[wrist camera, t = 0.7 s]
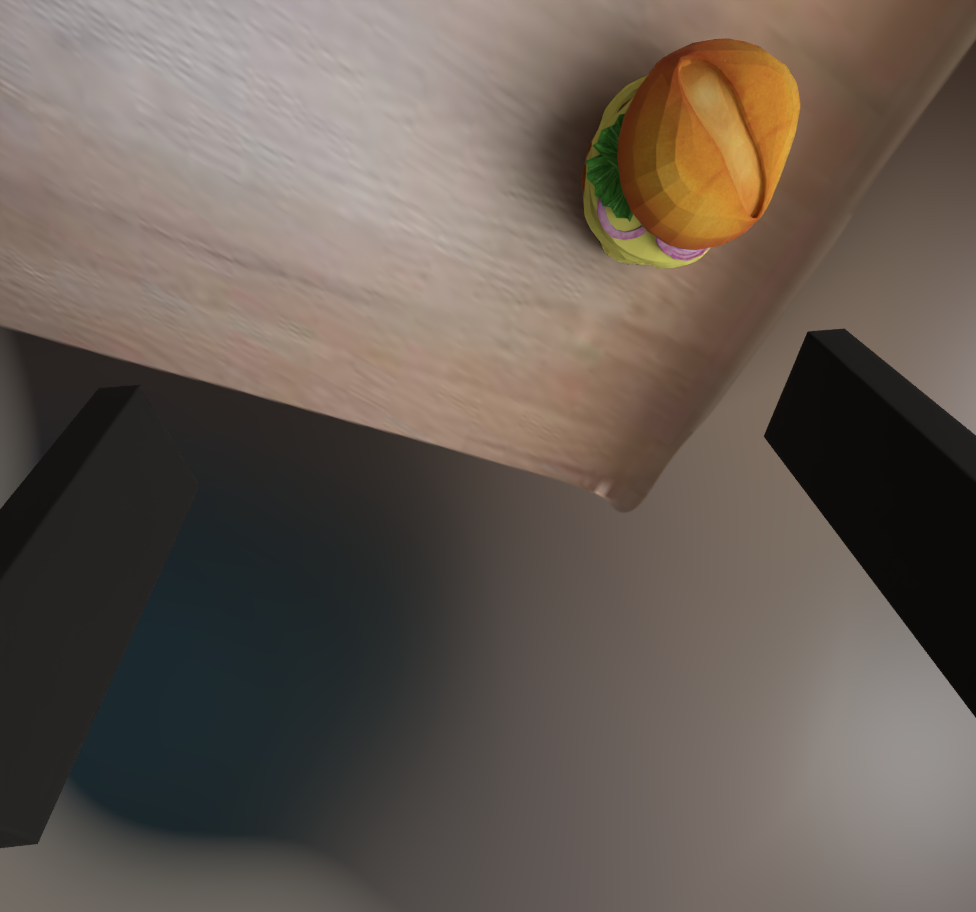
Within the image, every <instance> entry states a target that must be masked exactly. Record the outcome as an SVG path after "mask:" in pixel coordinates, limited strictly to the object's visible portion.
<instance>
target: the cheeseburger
mask: <svg viewBox="0 0 976 912" xmlns="http://www.w3.org/2000/svg"><path fill="white" fill-rule="evenodd" d="M799 112H800V100H799V94H798V87H797V83H796V81H795V80H794V78H793V76H792V75H791V73H790V71H789V70H788V68H787V66H786V65H785V64H783V63H781V62H780V61H778V60H777V59H775V58H774V57H772V56H771V55H770V54H769V53H767V52H766V51H765V50H763V49H762V48H761V47H759V46H757V45H753V44H750V43H747V42H744V41H739V40H733V39H714V40H708V41H702V42H697V43H692V44H690V45H688V46H685V47H683V48H681V49H679V50H677V51H675V52H673V53H671V54H669V55H667V56H666V57H664V58H663V59H661V60H660V61H659V62H658V63H657V64H656V65H655V66H654V68H653V69H652V70H651V72H650V73H649V74H648V75H646V76H644V77H642V78H639V79H637V80H635V81H634V82H632V83H630V84H628V85H626V86H625V87H624V88H623V89H622V90H621V91H620V92H619V93H618V94H617V95H616V96H615V97H614V99H613V100H612V101H611V102H610V103H609V105H608V106H607V107H606V109H605V110H604V113H603V117H602V120H601V123H600V126H599V129H598V130H597V132H596V133H595V135H594V137H593V138H592V140H591V141H590V144H589V148H588V153H587V157H586V161H585V165H584V170H583V174H582V178H581V179H582V189H583V199H584V216H585V218H586V220H587V223H588V225H589V227H590V229H591V230H592V232H593V233H594V234H595V236H596V237H597V238H598V239H599V241H600V242H601V245H602V247H603V250H604V251H605V253H606V254H607V255H609V256H610V257H612V258H613V259H615V260H617V261H619V262H622V263H625V264H636V265H645V264H650V265H652V266H655V267H657V268H674V267H678V266H685V265H687V264H690V263H692V262H694V261H697V260H699V259H700V258H701V257H702V256H703V255H704V254H705V253H706V252H707V251H708V250H709V249H710V248H711V247H715V246H720V245H722V244H724V243H727V242H729V241H731V240H734V239H736V238H738V237H739V236H741V235H742V234H743V233H745V232H746V231H747V230H748V229H749V228H750V227H751V226H752V225H753V224H754V223H755V222H757V221H758V220H759V219H760V218H761V216H762V215H763V214H764V212H765V210H766V208H767V207H768V205H769V203H770V201H771V199H772V196H773V194H774V191H775V189H776V186H777V184H778V182H779V179H780V176H781V173H782V171H783V168H784V165H785V162H786V160H787V157H788V154H789V151H790V148H791V145H792V142H793V139H794V136H795V132H796V127H797V122H798V117H799Z"/></svg>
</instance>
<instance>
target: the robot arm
mask: <svg viewBox="0 0 976 912" xmlns="http://www.w3.org/2000/svg"><path fill="white" fill-rule="evenodd" d="M764 437H765V439H766V440H767V441H768V443H769V444H770V445H771V447H772V448H773V449H774V451H775V452H776V453H777V455H778V456H779V457H780V459H781V460H782V461H783V463H784V464H785V465H786V467H787V468H788V469H789V471H790V472H791V473H792V474H793V476H794V477H795V479H796V480H797V481H798V482H799V484H800V485H801V487H802V488H803V489H804V490H805V492H806V493H807V494H808V496H809V497H810V498H811V500H812V501H813V502H814V504H815V505H816V506H817V508H818V509H819V510H820V512H821V513H822V514H823V516H824V517H825V518H826V520H827V521H828V522H829V524H830V525H831V526H832V528H833V529H834V530H835V531H836V533H837V534H838V535H839V537H840V538H841V540H842V541H843V542H844V544H845V545H846V546H847V547H848V549H849V550H850V551H851V553H852V554H853V555H854V557H855V558H856V559H857V561H858V562H859V563H860V565H861V566H862V567H863V569H864V570H865V571H866V573H867V574H868V575H869V577H870V578H871V579H872V580H873V582H874V583H875V585H876V586H877V587H878V589H879V590H880V591H881V593H882V594H883V595H884V596H885V598H886V599H887V601H888V602H889V603H890V605H891V606H892V607H893V609H894V610H895V611H896V613H897V614H898V615H899V616H900V618H901V619H902V620H903V622H904V623H905V624H906V626H907V627H908V628H909V630H910V631H911V632H912V634H913V635H914V636H915V638H916V639H917V640H918V642H919V643H920V644H921V646H922V647H923V648H924V650H925V651H926V652H927V654H928V655H929V656H930V657H931V659H932V660H933V661H934V663H935V664H936V666H937V667H938V668H939V669H940V671H941V672H942V674H943V675H944V676H945V677H946V679H947V680H948V681H949V683H950V684H951V685H952V687H953V688H954V689H955V691H956V692H957V693H958V695H959V696H960V697H961V699H962V700H963V701H964V703H965V704H966V705H967V707H968V708H969V709H970V711H971V712H972V713H973V714H974V716H975V717H976V435H974V434H973V433H972V432H971V431H970V430H968V429H967V428H966V427H965V426H963V425H962V424H961V423H960V422H958V421H957V420H956V419H955V418H953V417H952V416H951V415H950V414H949V413H947V412H946V411H945V410H944V409H942V408H941V407H940V406H939V405H938V404H936V403H935V402H934V401H933V400H931V399H930V398H929V397H928V396H927V395H925V394H924V393H923V392H922V391H920V390H919V389H918V388H917V387H916V386H914V385H913V384H912V383H911V382H909V381H908V380H907V379H905V378H904V377H903V376H902V375H901V374H900V373H898V372H897V371H896V370H895V369H893V368H892V367H891V366H890V365H888V364H887V363H886V362H885V361H884V360H882V359H881V358H880V357H878V356H877V355H876V354H875V353H874V352H873V351H871V350H870V349H869V348H868V347H866V346H865V345H864V344H863V343H861V342H860V341H859V340H858V339H857V338H855V337H854V336H853V335H852V334H850V333H849V332H848V331H847V330H845V329H834V330H822V331H811V332H810V331H809V332H807V334H806V337H805V339H804V342H803V344H802V347H801V349H800V351H799V354H798V356H797V358H796V361H795V363H794V365H793V368H792V370H791V373H790V375H789V378H788V380H787V382H786V385H785V387H784V389H783V392H782V394H781V396H780V399H779V401H778V404H777V406H776V408H775V411H774V413H773V416H772V418H771V420H770V423H769V425H768V427H767V430H766V432H765V435H764ZM198 488H199V484H198V483H197V481H196V479H195V478H194V476H193V474H192V472H191V471H190V469H189V468H188V466H187V464H186V462H185V461H184V459H183V457H182V455H181V454H180V452H179V450H178V449H177V447H176V445H175V443H174V442H173V440H172V438H171V437H170V435H169V433H168V431H167V430H166V428H165V426H164V425H163V423H162V421H161V420H160V418H159V416H158V414H157V413H156V411H155V410H154V408H153V406H152V404H151V402H150V401H149V399H148V397H147V396H146V394H145V392H144V391H143V389H142V387H141V386H140V385H133V386H120V387H108V388H99V389H98V390H97V391H96V392H95V394H94V395H93V396H92V397H91V399H90V400H89V401H88V402H87V403H86V405H85V406H84V407H83V408H82V410H81V411H80V412H79V413H78V415H77V416H76V417H75V418H74V419H73V421H72V422H71V423H70V424H69V426H68V427H67V428H66V429H65V430H64V432H63V433H62V434H61V435H60V437H59V438H58V439H57V440H56V441H55V443H54V444H53V445H52V446H51V448H50V449H49V450H48V451H47V453H46V454H45V455H44V456H43V457H42V459H41V460H40V461H39V463H38V464H37V465H36V466H35V467H34V468H33V470H32V471H31V472H30V474H29V475H28V476H27V477H26V478H25V480H24V481H23V482H22V483H21V485H20V486H19V487H18V488H17V489H16V491H15V492H14V493H13V494H12V495H11V497H10V498H9V499H8V500H7V502H6V503H5V504H4V506H3V507H2V508H1V509H0V848H5V847H14V846H23V845H31V844H38V842H39V840H40V837H41V835H42V833H43V831H44V829H45V826H46V824H47V822H48V820H49V818H50V815H51V813H52V811H53V809H54V806H55V804H56V802H57V800H58V798H59V795H60V793H61V791H62V789H63V786H64V784H65V782H66V780H67V778H68V776H69V773H70V771H71V769H72V767H73V765H74V762H75V760H76V758H77V755H78V754H79V751H80V749H81V747H82V745H83V742H84V740H85V738H86V736H87V734H88V731H89V729H90V727H91V725H92V723H93V720H94V718H95V716H96V714H97V712H98V709H99V707H100V705H101V703H102V700H103V698H104V696H105V694H106V692H107V689H108V687H109V685H110V682H111V680H112V678H113V676H114V674H115V671H116V670H117V667H118V665H119V663H120V661H121V658H122V656H123V654H124V652H125V650H126V647H127V645H128V643H129V641H130V639H131V636H132V634H133V632H134V630H135V628H136V625H137V623H138V621H139V619H140V617H141V614H142V612H143V610H144V608H145V606H146V603H147V601H148V599H149V597H150V594H151V592H152V590H153V588H154V585H155V583H156V581H157V579H158V577H159V574H160V572H161V570H162V568H163V565H164V564H165V561H166V559H167V557H168V555H169V552H170V550H171V548H172V546H173V544H174V541H175V539H176V537H177V534H178V533H179V530H180V528H181V526H182V524H183V522H184V519H185V517H186V515H187V513H188V511H189V508H190V506H191V504H192V502H193V499H194V497H195V495H196V493H197V491H198Z"/></svg>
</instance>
